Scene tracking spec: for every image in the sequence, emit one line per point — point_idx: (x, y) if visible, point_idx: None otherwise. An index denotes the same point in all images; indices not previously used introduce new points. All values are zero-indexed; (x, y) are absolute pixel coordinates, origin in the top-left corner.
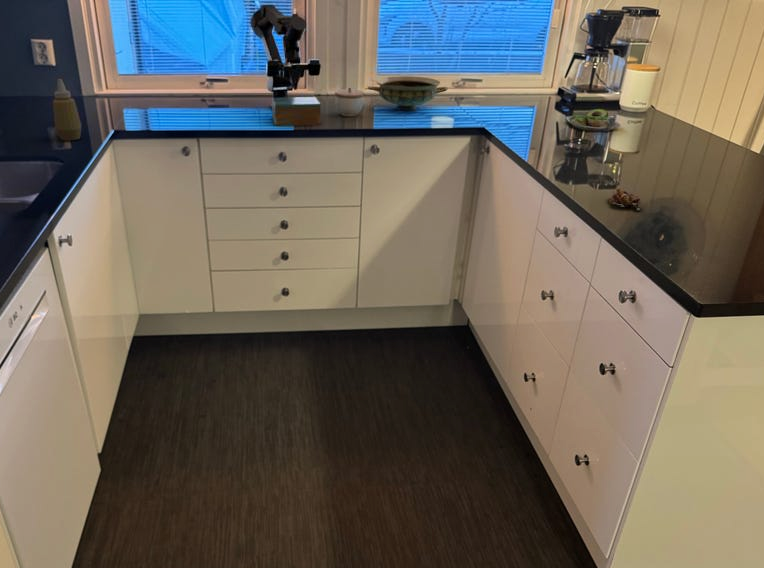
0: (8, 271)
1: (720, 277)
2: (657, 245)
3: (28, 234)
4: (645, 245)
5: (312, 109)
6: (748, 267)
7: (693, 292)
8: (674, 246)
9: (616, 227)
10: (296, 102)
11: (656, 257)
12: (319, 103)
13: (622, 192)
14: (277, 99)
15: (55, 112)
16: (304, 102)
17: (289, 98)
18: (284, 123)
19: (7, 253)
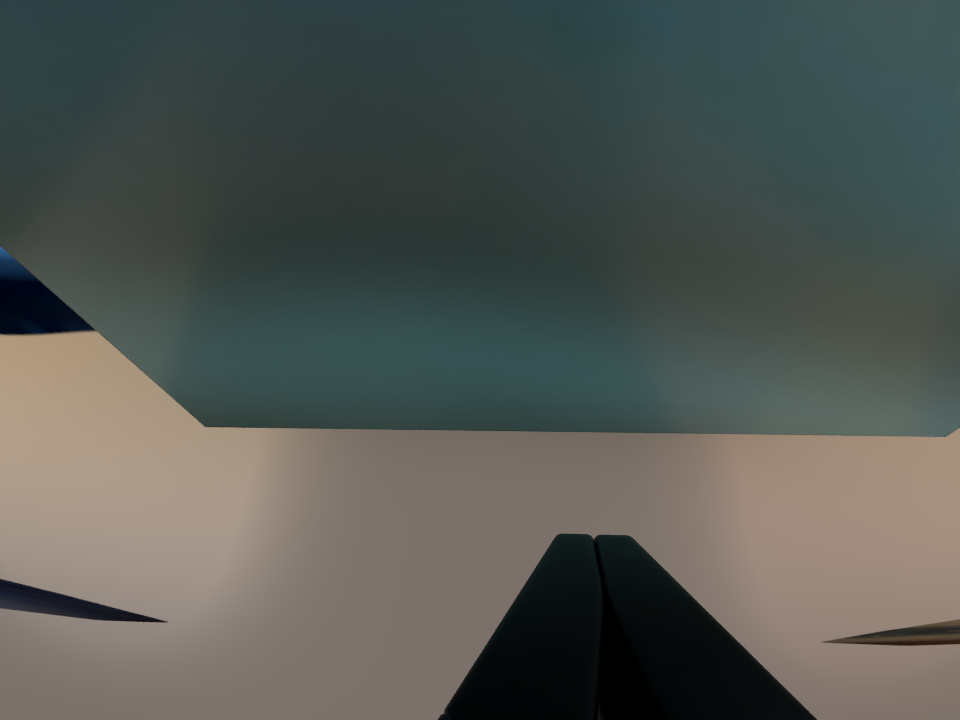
0: (103, 605)
1: (896, 640)
2: (923, 632)
3: (32, 589)
4: (907, 631)
5: None
6: (956, 640)
7: (831, 641)
8: (941, 633)
9: (937, 625)
10: (563, 367)
11: (882, 634)
12: (945, 427)
13: None
14: (8, 120)
15: None
16: (722, 376)
17: (414, 5)
18: None
19: (58, 598)
